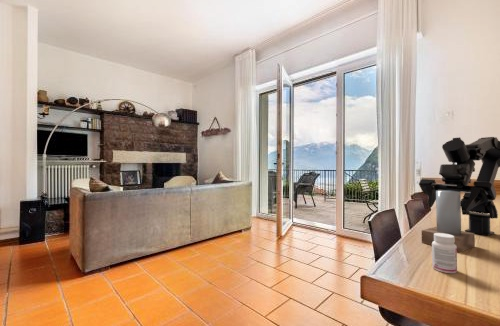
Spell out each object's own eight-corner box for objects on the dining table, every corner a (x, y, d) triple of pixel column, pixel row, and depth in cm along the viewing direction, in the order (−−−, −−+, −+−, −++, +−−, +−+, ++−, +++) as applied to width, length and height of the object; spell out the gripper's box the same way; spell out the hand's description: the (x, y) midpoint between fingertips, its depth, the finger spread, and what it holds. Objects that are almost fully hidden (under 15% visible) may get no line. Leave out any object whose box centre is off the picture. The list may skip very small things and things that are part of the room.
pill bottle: (462, 274, 56) (461, 238, 56) (438, 273, 57) (438, 237, 57) (449, 266, 61) (449, 232, 61) (428, 264, 62) (427, 231, 62)
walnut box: (437, 237, 84) (437, 226, 84) (474, 246, 75) (474, 233, 75) (421, 242, 79) (421, 230, 79) (459, 252, 70) (459, 238, 70)
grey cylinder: (442, 228, 80) (441, 189, 80) (464, 233, 75) (464, 191, 75) (432, 231, 77) (432, 191, 77) (455, 236, 72) (454, 192, 72)
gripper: (420, 156, 87) (405, 189, 81) (492, 154, 71) (479, 195, 65) (431, 177, 91) (417, 210, 85) (501, 180, 75) (489, 220, 69)
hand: (446, 208), depth 76 cm, fingers open, 9 cm apart
